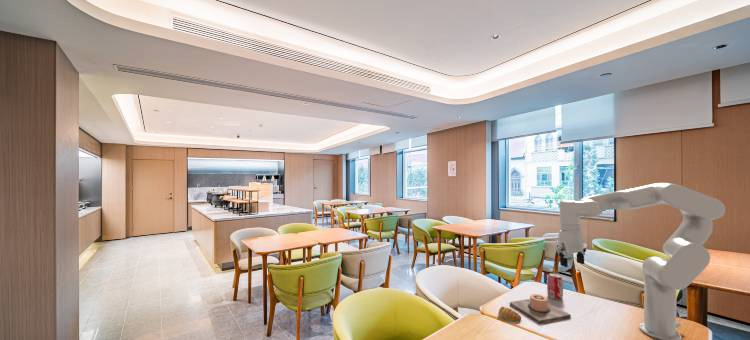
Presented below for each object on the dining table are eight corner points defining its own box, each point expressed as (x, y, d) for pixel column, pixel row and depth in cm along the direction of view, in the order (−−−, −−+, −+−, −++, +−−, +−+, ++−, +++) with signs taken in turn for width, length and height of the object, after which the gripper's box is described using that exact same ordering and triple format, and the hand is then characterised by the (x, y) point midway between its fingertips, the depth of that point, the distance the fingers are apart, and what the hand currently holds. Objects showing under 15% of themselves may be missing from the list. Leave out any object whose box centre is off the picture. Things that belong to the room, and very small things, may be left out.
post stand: (538, 300, 150) (538, 287, 150) (570, 317, 132) (570, 303, 132) (509, 305, 145) (509, 292, 145) (539, 323, 127) (539, 309, 127)
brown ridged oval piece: (523, 319, 132) (523, 311, 132) (517, 325, 127) (517, 316, 127) (503, 311, 139) (503, 303, 139) (496, 316, 134) (496, 308, 134)
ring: (538, 303, 143) (538, 293, 143) (550, 310, 136) (550, 299, 136) (527, 305, 141) (527, 295, 141) (538, 312, 134) (539, 301, 134)
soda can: (562, 296, 154) (562, 274, 154) (563, 301, 148) (563, 278, 148) (547, 293, 158) (547, 271, 157) (547, 298, 152) (547, 275, 151)
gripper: (577, 224, 137) (579, 259, 137) (548, 227, 132) (550, 264, 132) (592, 226, 130) (595, 264, 130) (562, 230, 125) (565, 270, 125)
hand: (572, 264), depth 131 cm, fingers open, 9 cm apart
